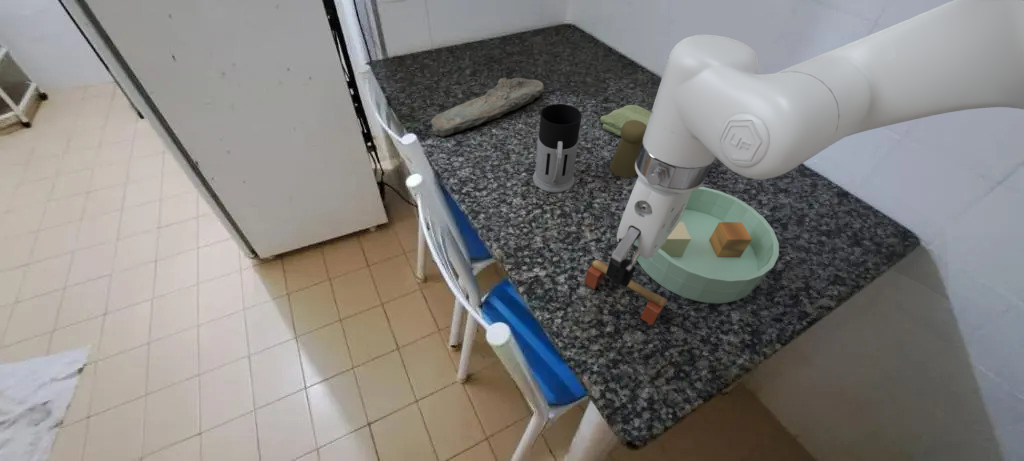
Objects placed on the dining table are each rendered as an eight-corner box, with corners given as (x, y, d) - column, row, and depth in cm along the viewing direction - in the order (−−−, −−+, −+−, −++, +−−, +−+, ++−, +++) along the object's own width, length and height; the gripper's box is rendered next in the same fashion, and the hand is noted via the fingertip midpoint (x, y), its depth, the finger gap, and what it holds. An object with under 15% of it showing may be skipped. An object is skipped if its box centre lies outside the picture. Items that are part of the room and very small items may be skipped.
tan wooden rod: (665, 303, 57) (667, 299, 56) (661, 309, 56) (664, 304, 55) (594, 262, 62) (595, 257, 61) (590, 266, 61) (591, 261, 60)
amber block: (731, 240, 69) (742, 222, 66) (740, 257, 67) (752, 239, 63) (708, 239, 69) (718, 222, 66) (716, 257, 67) (727, 239, 63)
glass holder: (574, 167, 85) (584, 103, 74) (575, 212, 75) (587, 146, 64) (533, 164, 85) (538, 100, 74) (530, 209, 75) (534, 143, 65)
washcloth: (626, 109, 102) (629, 97, 100) (687, 136, 94) (692, 124, 91) (595, 127, 96) (597, 115, 94) (658, 158, 87) (662, 146, 85)
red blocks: (660, 312, 60) (667, 299, 57) (652, 325, 58) (658, 313, 56) (593, 272, 65) (597, 258, 62) (584, 283, 63) (587, 270, 61)
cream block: (675, 239, 69) (683, 221, 66) (682, 256, 67) (691, 239, 63) (652, 239, 69) (660, 221, 66) (658, 256, 66) (666, 238, 63)
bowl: (776, 246, 70) (794, 222, 65) (736, 328, 58) (754, 306, 54) (663, 194, 79) (672, 170, 75) (609, 256, 67) (616, 232, 63)
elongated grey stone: (423, 130, 96) (446, 150, 91) (419, 112, 92) (443, 131, 87) (527, 81, 111) (552, 96, 106) (528, 64, 107) (553, 78, 102)
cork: (608, 174, 83) (618, 129, 75) (611, 158, 87) (622, 113, 79) (636, 179, 82) (651, 134, 74) (638, 163, 86) (652, 118, 78)
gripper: (671, 219, 36) (628, 315, 49) (734, 140, 46) (684, 237, 58) (602, 184, 40) (577, 283, 52) (673, 117, 49) (638, 214, 61)
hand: (633, 259), depth 55 cm, fingers open, 9 cm apart
